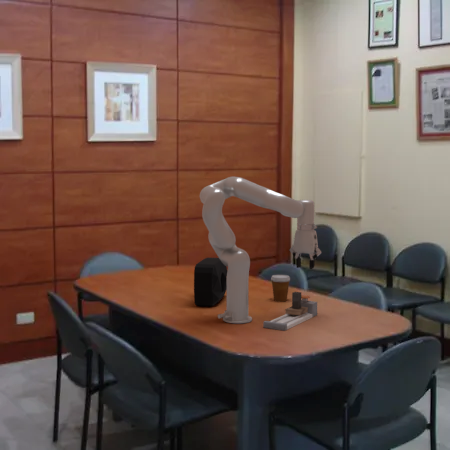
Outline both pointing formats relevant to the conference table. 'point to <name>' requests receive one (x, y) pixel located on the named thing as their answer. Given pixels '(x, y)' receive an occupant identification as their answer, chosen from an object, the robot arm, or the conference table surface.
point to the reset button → (305, 297)
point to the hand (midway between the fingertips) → (305, 267)
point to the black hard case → (209, 281)
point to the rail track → (292, 318)
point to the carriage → (296, 305)
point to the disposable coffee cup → (280, 287)
